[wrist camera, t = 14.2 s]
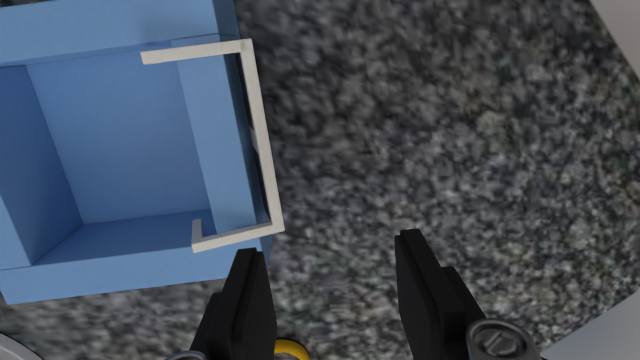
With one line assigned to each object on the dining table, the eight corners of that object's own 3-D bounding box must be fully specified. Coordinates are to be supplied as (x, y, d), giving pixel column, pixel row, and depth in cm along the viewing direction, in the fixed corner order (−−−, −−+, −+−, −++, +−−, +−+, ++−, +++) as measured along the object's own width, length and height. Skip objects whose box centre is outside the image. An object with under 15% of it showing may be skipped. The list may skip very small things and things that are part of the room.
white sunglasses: (244, 41, 27) (252, 38, 23) (274, 209, 32) (285, 230, 28) (149, 53, 26) (139, 51, 22) (194, 227, 30) (193, 253, 26)
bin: (-23, 29, 30) (-127, 24, 23) (232, -5, 29) (208, -22, 22) (66, 254, 36) (6, 305, 29) (275, 228, 36) (266, 273, 29)
